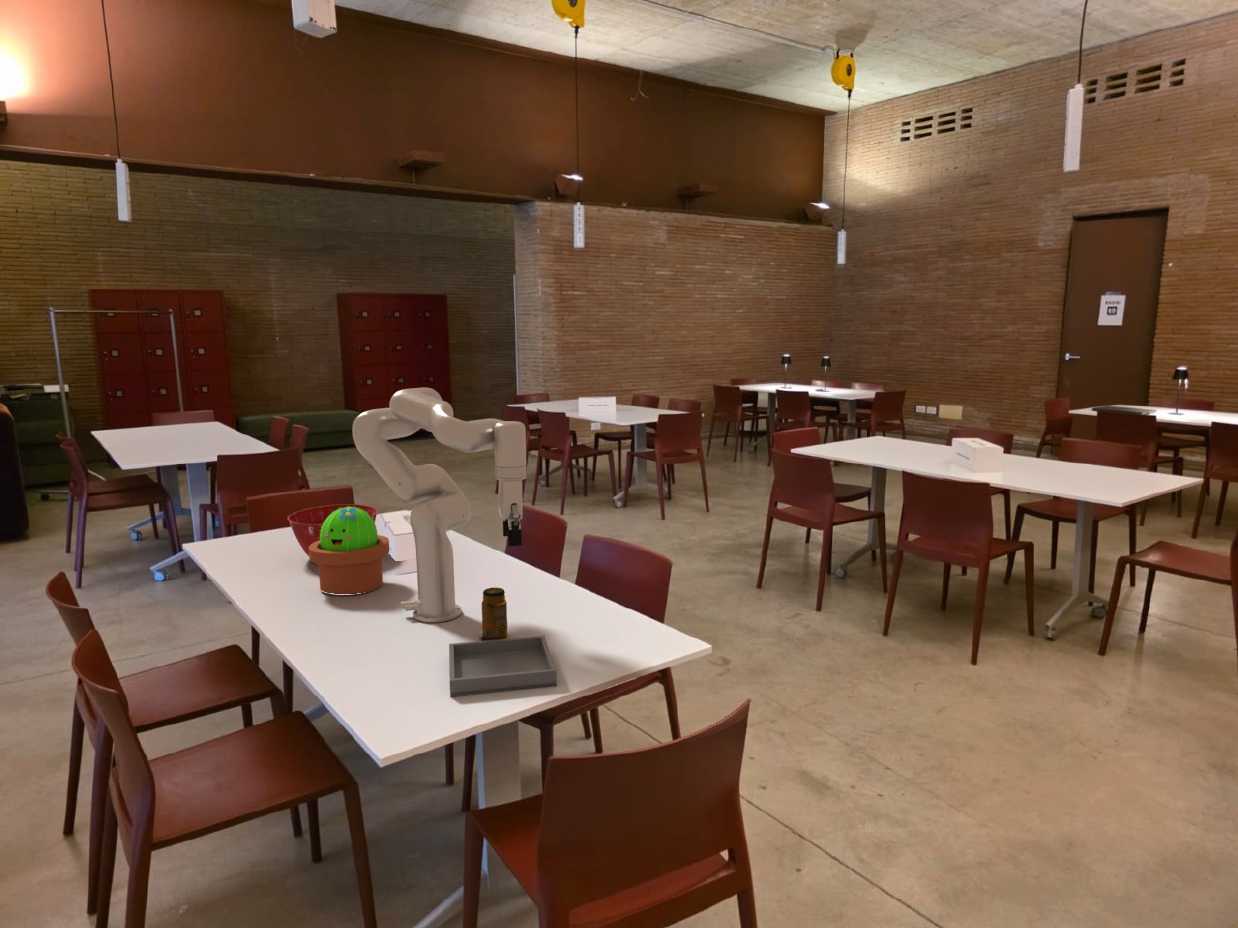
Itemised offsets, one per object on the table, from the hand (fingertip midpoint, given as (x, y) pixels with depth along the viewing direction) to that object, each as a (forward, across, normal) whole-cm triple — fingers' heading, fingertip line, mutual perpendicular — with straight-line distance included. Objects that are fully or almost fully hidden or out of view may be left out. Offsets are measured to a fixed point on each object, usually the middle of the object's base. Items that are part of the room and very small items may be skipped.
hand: (512, 540), depth 189 cm
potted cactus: (+24, -49, -42) cm, 69 cm away
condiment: (+24, +3, -5) cm, 25 cm away
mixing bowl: (+25, -84, -49) cm, 100 cm away
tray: (+23, +23, -6) cm, 34 cm away
